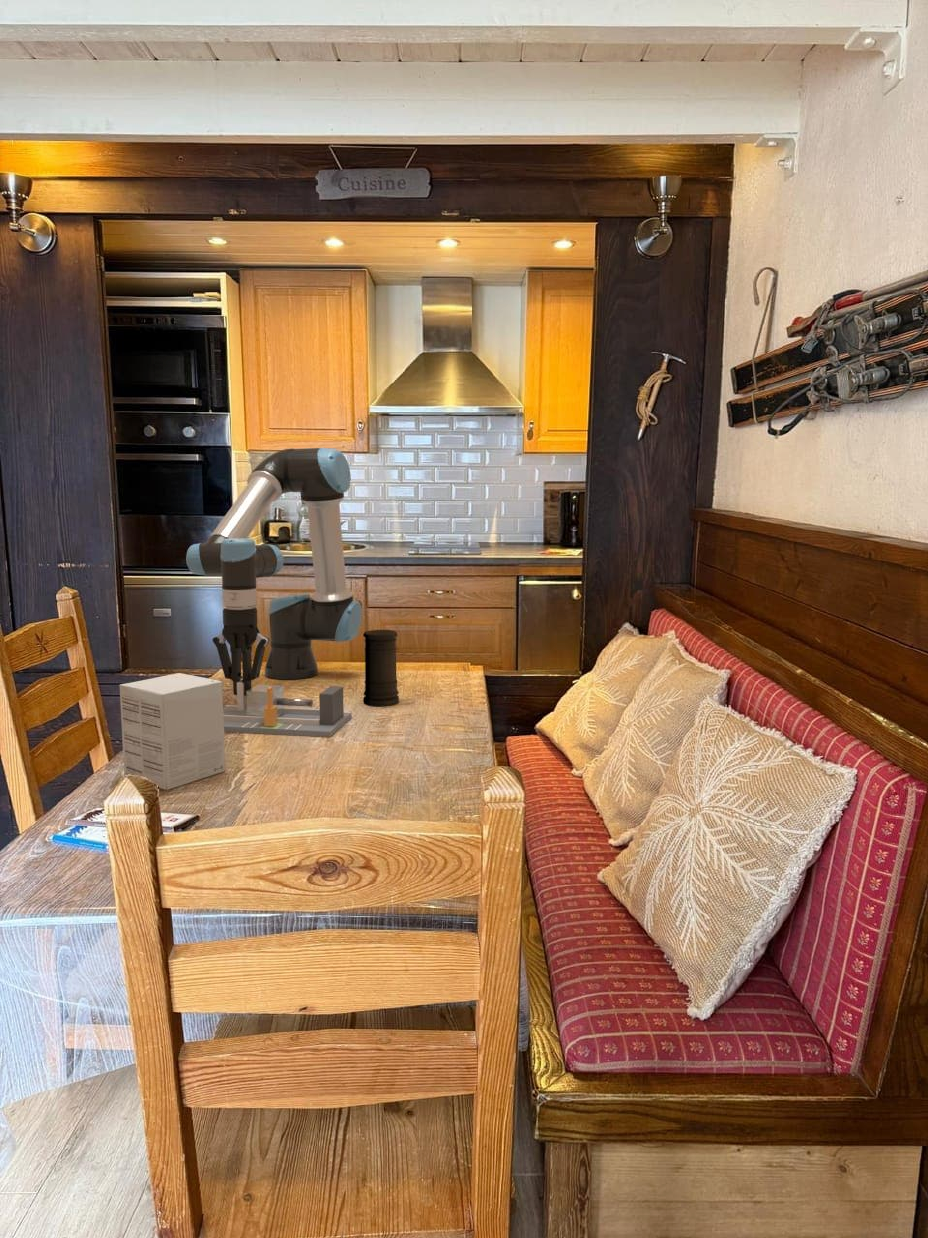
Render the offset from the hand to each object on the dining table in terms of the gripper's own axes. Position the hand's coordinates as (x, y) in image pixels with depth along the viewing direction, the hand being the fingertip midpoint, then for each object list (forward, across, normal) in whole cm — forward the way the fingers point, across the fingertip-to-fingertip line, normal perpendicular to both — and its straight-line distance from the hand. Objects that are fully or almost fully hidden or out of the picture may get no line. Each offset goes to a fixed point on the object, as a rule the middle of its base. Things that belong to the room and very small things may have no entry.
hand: (243, 708), depth 192 cm
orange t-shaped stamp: (+1, +9, -7) cm, 12 cm away
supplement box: (+3, +3, -37) cm, 37 cm away
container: (+3, +26, +23) cm, 35 cm away
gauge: (+1, +10, -2) cm, 10 cm away
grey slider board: (+3, +8, -1) cm, 8 cm away
